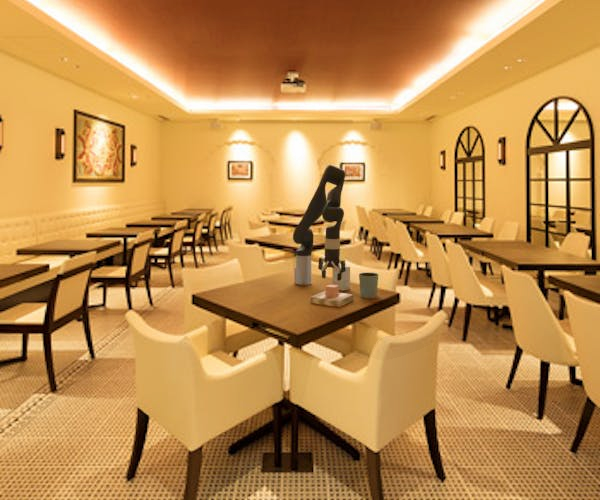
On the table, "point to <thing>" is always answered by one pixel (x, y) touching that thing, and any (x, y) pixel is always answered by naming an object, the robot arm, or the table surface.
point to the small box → (342, 279)
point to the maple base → (332, 299)
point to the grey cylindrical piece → (368, 285)
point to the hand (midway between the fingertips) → (331, 279)
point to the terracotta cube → (331, 290)
